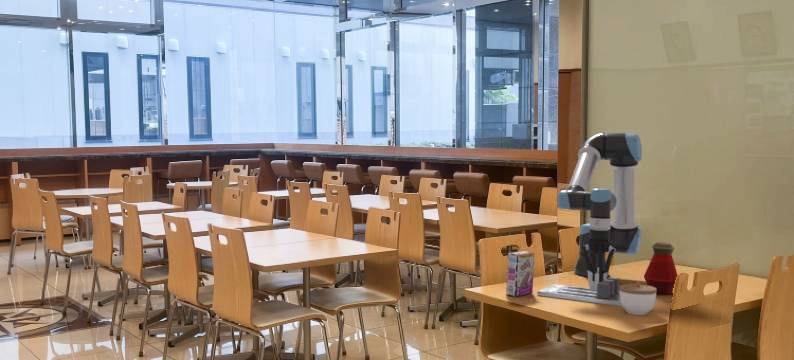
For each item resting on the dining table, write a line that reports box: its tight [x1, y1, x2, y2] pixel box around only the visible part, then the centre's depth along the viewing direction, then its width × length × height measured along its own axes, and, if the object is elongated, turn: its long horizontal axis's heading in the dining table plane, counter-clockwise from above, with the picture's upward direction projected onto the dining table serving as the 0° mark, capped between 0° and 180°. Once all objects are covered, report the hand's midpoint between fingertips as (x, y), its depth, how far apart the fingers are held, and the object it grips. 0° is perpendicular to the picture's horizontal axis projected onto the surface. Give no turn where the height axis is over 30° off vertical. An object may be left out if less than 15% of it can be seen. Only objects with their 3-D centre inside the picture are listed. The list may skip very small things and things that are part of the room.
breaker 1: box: [597, 282, 611, 299], centre depth 292 cm, size 4×4×5 cm
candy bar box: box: [505, 250, 535, 298], centre depth 303 cm, size 11×5×16 cm, turn 134°
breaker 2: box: [601, 278, 615, 296], centre depth 297 cm, size 4×4×5 cm
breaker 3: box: [607, 276, 621, 293], centre depth 302 cm, size 4×4×5 cm
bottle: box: [643, 241, 679, 296], centre depth 313 cm, size 16×14×20 cm
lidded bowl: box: [619, 281, 657, 316], centre depth 275 cm, size 13×13×11 cm
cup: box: [587, 268, 608, 289], centre depth 317 cm, size 11×8×8 cm
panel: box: [536, 283, 622, 307], centre depth 301 cm, size 18×34×2 cm, turn 58°
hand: (597, 290), depth 299 cm, fingers closed
